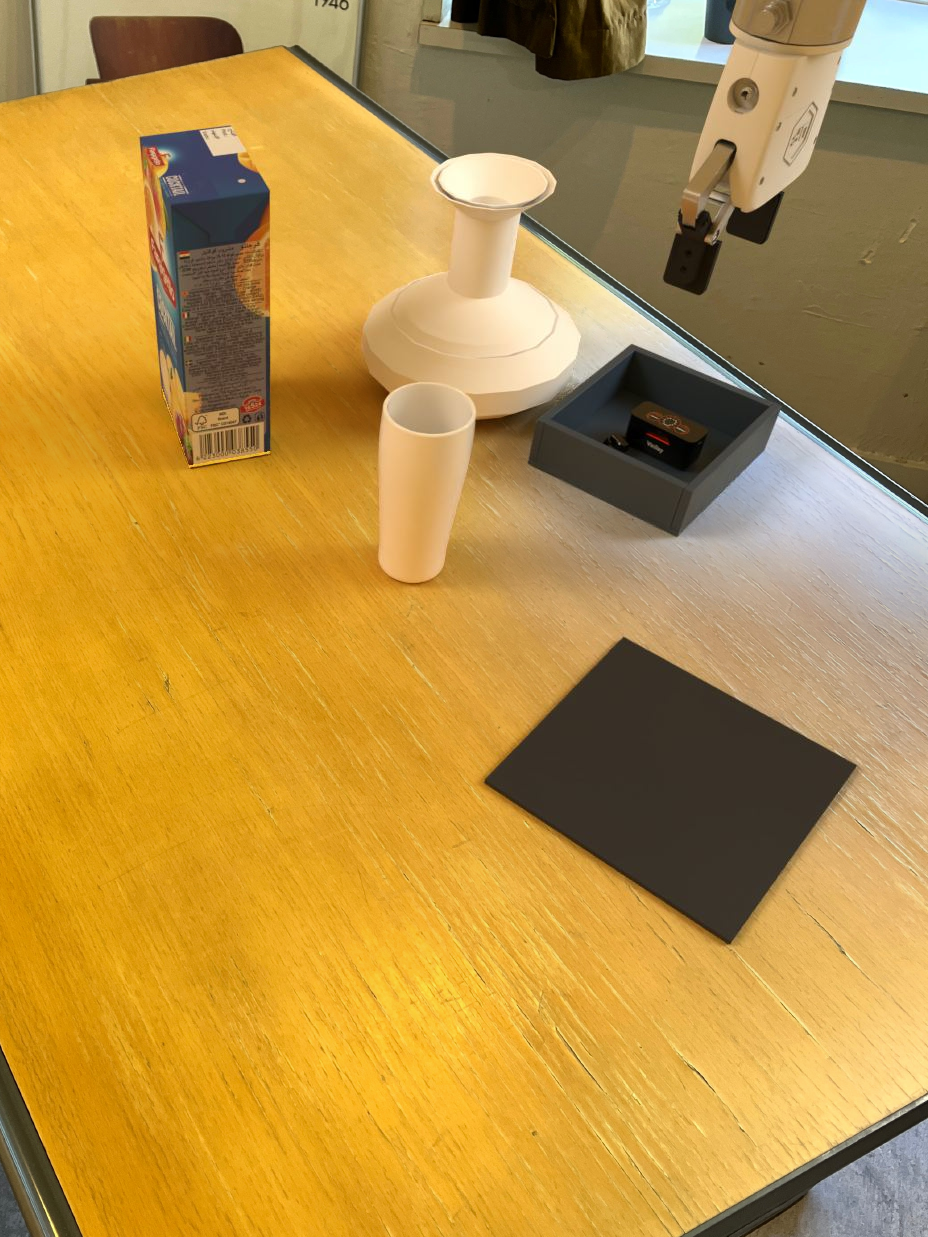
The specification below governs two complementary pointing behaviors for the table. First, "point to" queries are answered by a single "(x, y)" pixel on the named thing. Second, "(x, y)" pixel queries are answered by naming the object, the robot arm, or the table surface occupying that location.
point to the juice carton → (210, 289)
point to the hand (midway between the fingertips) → (715, 261)
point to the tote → (634, 476)
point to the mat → (674, 785)
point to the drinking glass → (421, 476)
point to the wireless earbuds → (661, 436)
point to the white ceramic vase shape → (478, 300)
